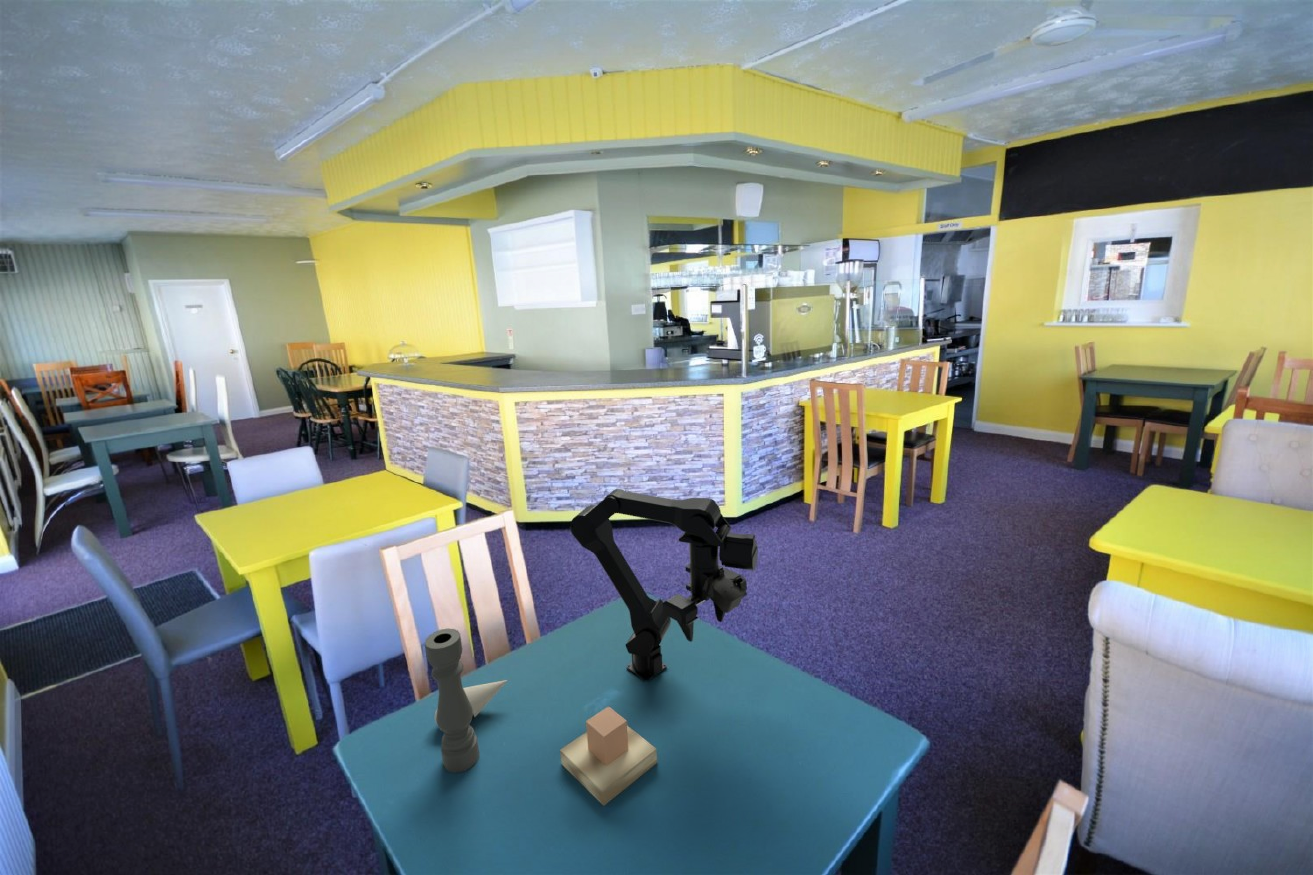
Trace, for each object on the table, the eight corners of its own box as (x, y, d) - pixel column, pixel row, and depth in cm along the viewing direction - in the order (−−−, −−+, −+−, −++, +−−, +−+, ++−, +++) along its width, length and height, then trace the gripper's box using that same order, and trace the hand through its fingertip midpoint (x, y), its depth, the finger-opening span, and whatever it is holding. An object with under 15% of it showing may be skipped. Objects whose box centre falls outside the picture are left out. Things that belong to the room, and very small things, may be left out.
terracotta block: (588, 749, 101) (585, 721, 99) (610, 733, 104) (608, 706, 102) (606, 765, 97) (603, 736, 95) (628, 749, 100) (626, 720, 99)
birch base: (561, 763, 102) (560, 749, 101) (613, 726, 109) (612, 713, 109) (603, 805, 93) (602, 791, 92) (657, 762, 101) (656, 748, 100)
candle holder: (486, 757, 104) (468, 636, 97) (454, 778, 99) (433, 654, 93) (468, 739, 108) (450, 623, 101) (437, 760, 103) (416, 639, 97)
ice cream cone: (514, 696, 118) (442, 739, 111) (502, 670, 121) (430, 710, 114) (515, 689, 113) (440, 733, 106) (502, 662, 116) (427, 703, 109)
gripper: (702, 595, 102) (704, 670, 106) (765, 558, 114) (764, 627, 118) (659, 574, 110) (662, 644, 114) (722, 541, 122) (723, 606, 126)
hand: (705, 630), depth 118 cm, fingers open, 9 cm apart
